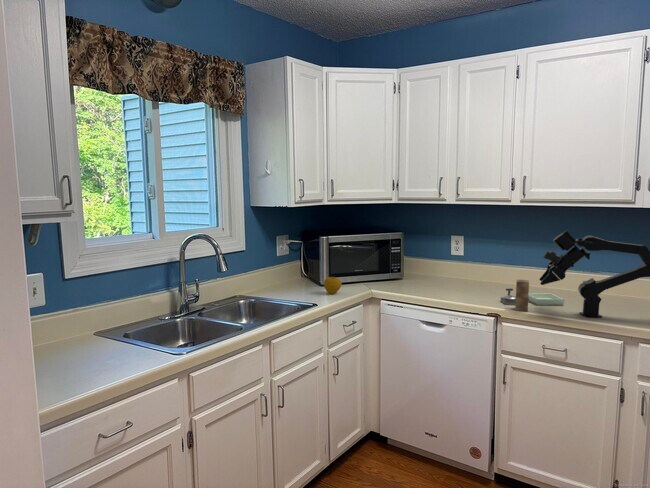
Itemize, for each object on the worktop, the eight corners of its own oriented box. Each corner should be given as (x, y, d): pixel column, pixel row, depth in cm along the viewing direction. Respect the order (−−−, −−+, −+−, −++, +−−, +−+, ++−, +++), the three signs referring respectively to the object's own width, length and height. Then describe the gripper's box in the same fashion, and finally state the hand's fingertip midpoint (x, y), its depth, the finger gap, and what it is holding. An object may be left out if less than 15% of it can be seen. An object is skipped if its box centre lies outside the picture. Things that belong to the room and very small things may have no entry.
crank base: (521, 304, 219) (521, 300, 218) (506, 304, 219) (506, 300, 218) (515, 301, 225) (515, 297, 225) (500, 301, 225) (500, 297, 225)
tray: (563, 305, 217) (563, 299, 217) (536, 305, 217) (537, 299, 217) (550, 299, 229) (551, 293, 229) (525, 299, 229) (525, 293, 229)
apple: (344, 293, 243) (344, 276, 242) (334, 296, 237) (334, 278, 235) (331, 291, 249) (331, 274, 248) (320, 294, 242) (320, 276, 241)
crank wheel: (520, 300, 219) (520, 291, 218) (507, 300, 219) (507, 291, 218) (514, 297, 225) (515, 288, 224) (502, 297, 225) (502, 288, 224)
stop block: (527, 308, 211) (528, 280, 210) (527, 311, 207) (529, 282, 205) (515, 307, 213) (516, 279, 212) (515, 310, 209) (516, 281, 207)
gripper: (554, 242, 211) (526, 265, 216) (558, 247, 193) (527, 272, 199) (573, 260, 209) (544, 283, 214) (578, 267, 191) (546, 291, 197)
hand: (540, 282), depth 206 cm, fingers open, 9 cm apart
